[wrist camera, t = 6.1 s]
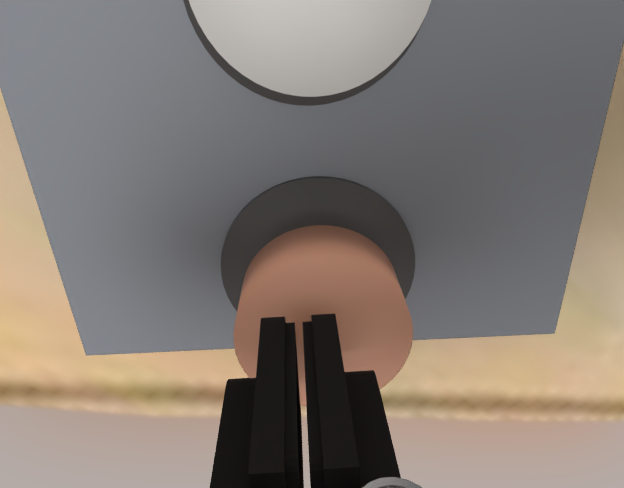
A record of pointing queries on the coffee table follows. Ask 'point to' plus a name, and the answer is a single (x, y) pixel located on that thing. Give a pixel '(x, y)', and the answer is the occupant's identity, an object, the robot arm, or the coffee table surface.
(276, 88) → the white button
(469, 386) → the coffee table surface
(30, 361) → the coffee table surface
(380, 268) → the terracotta button
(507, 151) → the console
